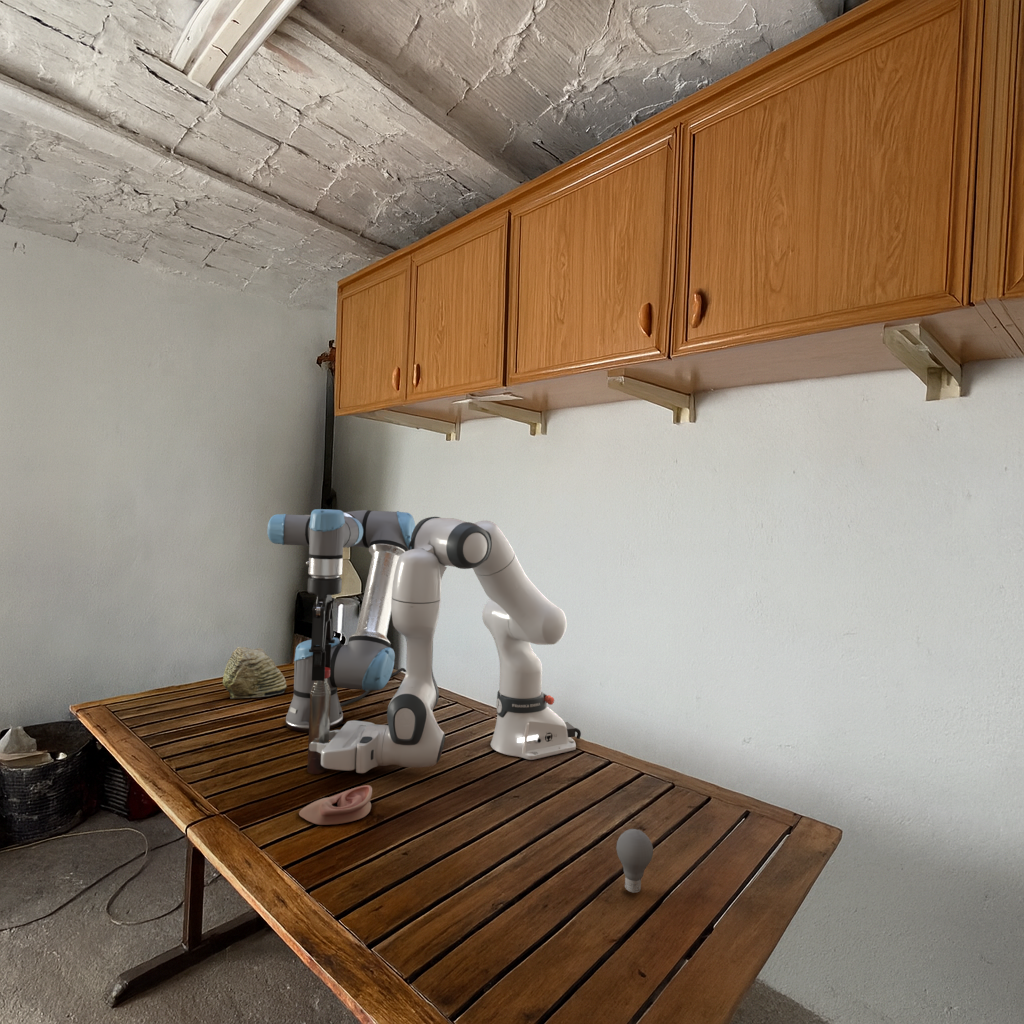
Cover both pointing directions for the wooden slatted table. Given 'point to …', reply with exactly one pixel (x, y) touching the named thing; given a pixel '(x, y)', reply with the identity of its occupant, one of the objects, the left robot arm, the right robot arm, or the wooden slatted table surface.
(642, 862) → the light bulb
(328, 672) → the cap
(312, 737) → the bottle
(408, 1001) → the wooden slatted table surface
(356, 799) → the anatomical model
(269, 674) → the fossil
